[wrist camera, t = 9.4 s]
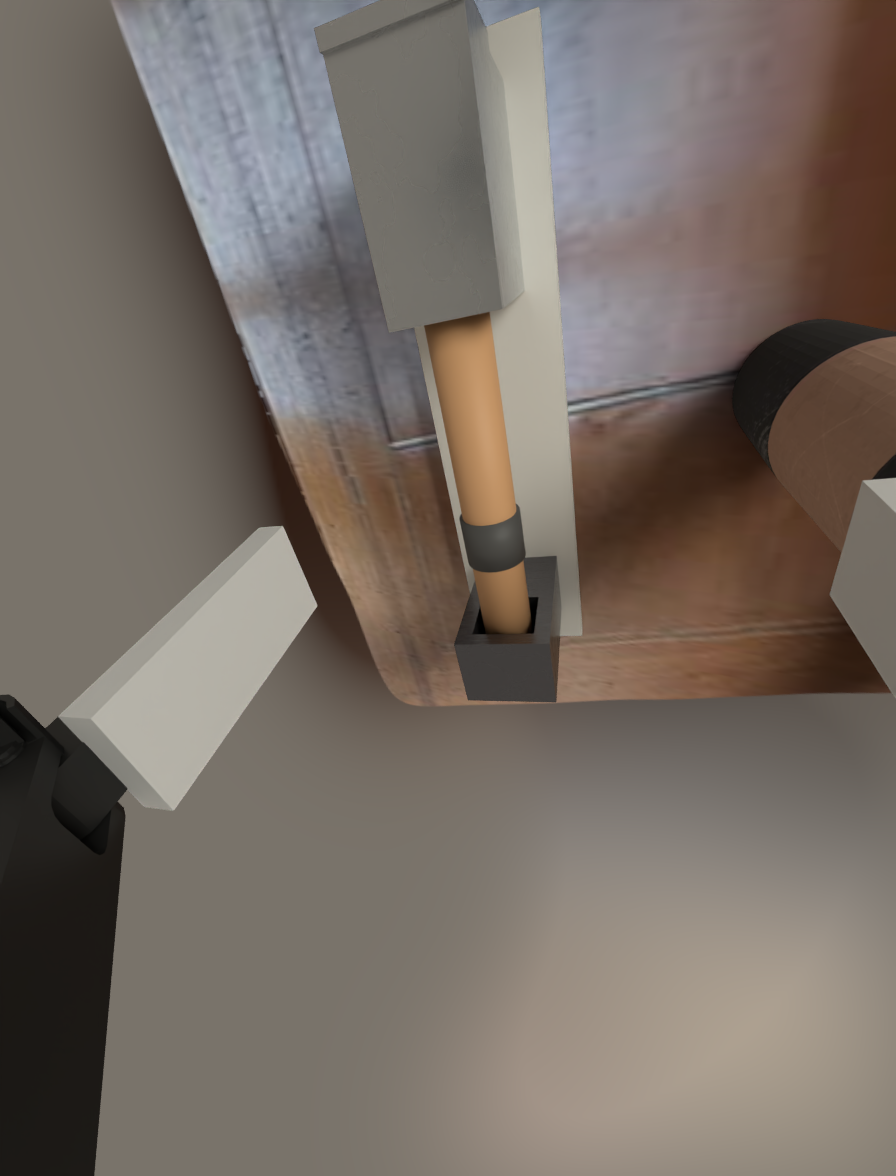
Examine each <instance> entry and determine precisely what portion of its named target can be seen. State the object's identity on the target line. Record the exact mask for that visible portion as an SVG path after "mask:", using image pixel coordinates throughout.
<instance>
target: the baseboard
mask: <svg viewBox="0 0 896 1176" xmlns="http://www.w3.org/2000/svg"><path fill="white" fill-rule="evenodd" d="M486 29H487V32H488V41H489V50H490V53H491V55H492V57H493V59H494V61H495V64H496V66H497V68H498V70H499V72H500V74H501V76H502V78H503V80H504V88H505V98H506V108H507V118H508V128H509V138H510V148H511V158H512V168H513V178H514V188H515V198H516V208H517V218H518V228H519V238H520V248H521V258H522V268H523V278H524V288H525V291H524V292H523V293H522V294H520V295H519V296H518V297H517V298H516V299H514V300H513V301H512V302H511V303H509V304H508V305H507V306H506V307H504V308H503V309H500V310H496V311H491V312H490V318H491V325H492V333H493V340H494V347H495V355H496V362H497V370H498V377H499V384H500V392H501V399H502V406H503V414H504V421H505V428H506V436H507V443H508V451H509V458H510V465H511V473H512V480H513V487H514V495H515V502H516V504H517V505H518V506H519V507H520V513H521V521H522V529H523V536H524V544H525V551H526V556H525V558H528V557H544V556H557V564H558V575H559V585H560V596H561V607H562V610H561V627H560V636H582V613H581V598H580V584H579V569H578V554H577V540H576V525H575V510H574V496H573V481H572V466H571V452H570V437H569V422H568V408H567V393H566V378H565V364H564V349H563V334H562V320H561V305H560V290H559V276H558V261H557V246H556V232H555V217H554V202H553V188H552V173H551V158H550V144H549V129H548V115H547V100H546V85H545V71H544V56H543V41H542V27H541V16H540V11H539V7H537V8H534V9H531V10H529V11H526V12H524V13H521V14H518V15H516V16H513V17H510V18H508V19H505V20H503V21H500V22H497V23H495V24H492V25H490V26H487V27H486ZM414 330H415V335H416V339H417V344H418V349H419V354H420V358H421V363H422V368H423V373H424V377H425V382H426V387H427V392H428V396H429V401H430V406H431V411H432V415H433V420H434V425H435V430H436V434H437V439H438V444H439V449H440V453H441V458H442V463H443V468H444V472H445V477H446V482H447V487H448V491H449V496H450V501H451V506H452V510H453V515H454V520H455V525H456V529H457V534H458V539H459V544H460V548H461V553H462V558H463V563H464V567H465V572H466V577H467V582H468V586H469V591H470V594H471V591H472V587H473V584H474V581H475V577H474V572H473V568H471V567H470V566H469V563H468V559H467V554H466V549H465V544H464V539H463V534H462V529H461V525H460V520H459V517H460V515H461V514H462V513H461V508H460V503H459V498H458V493H457V488H456V483H455V478H454V473H453V468H452V463H451V458H450V453H449V448H448V443H447V438H446V433H445V428H444V423H443V418H442V413H441V408H440V403H439V398H438V393H437V388H436V383H435V378H434V373H433V368H432V363H431V358H430V353H429V348H428V343H427V338H426V333H425V328H424V326H419V327H415V328H414Z"/></svg>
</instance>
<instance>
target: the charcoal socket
mask: <svg viewBox="0 0 896 1176" xmlns="http://www.w3.org/2000/svg"><path fill="white" fill-rule="evenodd" d="M523 561H524V569H525V576H526V583H527V591H528V598H529V605H530V613H531V620H532V627H533V634H486V632H485V627H484V622H483V617H482V612H481V607H480V602H479V597H478V592H477V587H476V582H475V581H474V584H473V587H472V591H471V594H470V597H469V600H468V603H467V606H466V609H465V612H464V616H463V619H462V622H461V625H460V628H459V631H458V634H457V637H456V641H455V644H454V646H455V650H456V654H457V658H458V662H459V666H460V670H461V674H462V678H463V682H464V686H465V690H466V694H467V698H468V700H483V701H526V702H556V698H557V681H558V663H559V645H560V627H561V610H562V607H561V596H560V585H559V575H558V564H557V556H544V557H528V558H524V560H523Z"/></svg>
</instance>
